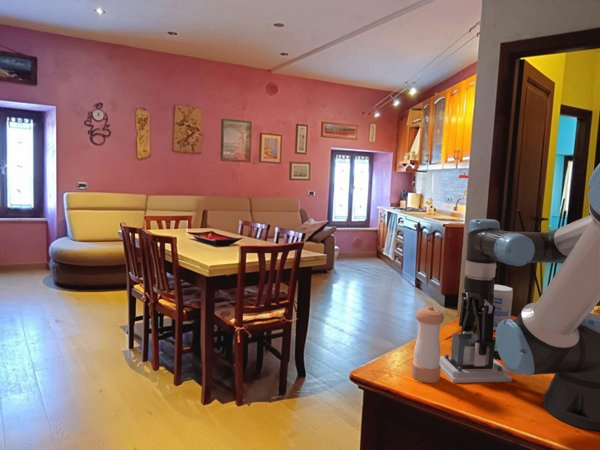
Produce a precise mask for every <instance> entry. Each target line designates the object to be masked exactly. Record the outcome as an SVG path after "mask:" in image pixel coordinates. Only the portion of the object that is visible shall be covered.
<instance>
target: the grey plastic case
mask: <svg viewBox="0 0 600 450" xmlns="http://www.w3.org/2000/svg"><path fill="white" fill-rule="evenodd" d="M452 340H453V341H452ZM452 340H451V341H452V342H451V349H452V351H451V354H450V355H451V356H450V357H451V364H452V365H453V366H454V367H455V368H456V369H458V367H459V366H460V367H462V369H493V361H494V359H495V358H494V350H495V340H496V338H494V337H493V343H487V350H486V360H485V366H474V357H475V345H476V342H475V341H478V335H477V334H461V333H453V334H452Z"/></svg>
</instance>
